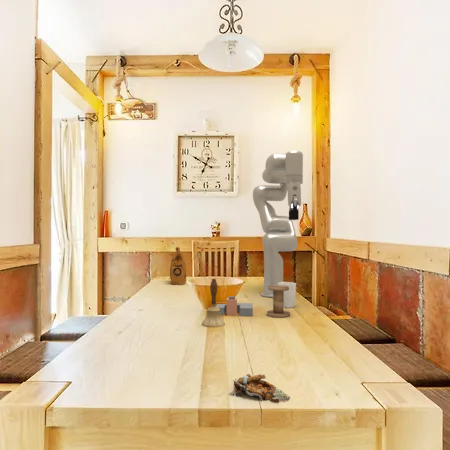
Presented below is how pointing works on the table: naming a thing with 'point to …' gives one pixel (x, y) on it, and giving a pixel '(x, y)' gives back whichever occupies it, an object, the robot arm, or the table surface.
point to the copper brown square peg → (231, 305)
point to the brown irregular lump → (259, 389)
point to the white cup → (289, 294)
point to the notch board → (238, 309)
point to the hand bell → (213, 309)
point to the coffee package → (178, 268)
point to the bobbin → (278, 302)
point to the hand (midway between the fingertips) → (293, 219)
